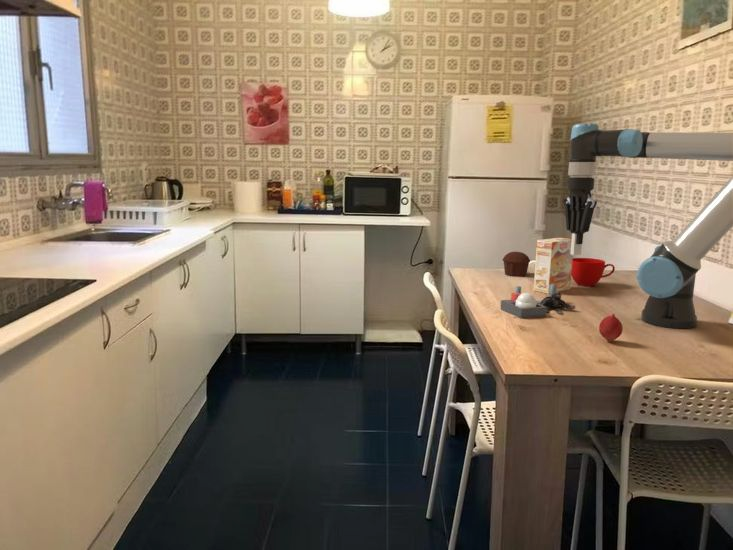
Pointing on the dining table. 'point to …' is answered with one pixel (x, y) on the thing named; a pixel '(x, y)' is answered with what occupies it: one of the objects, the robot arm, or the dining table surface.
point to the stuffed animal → (555, 303)
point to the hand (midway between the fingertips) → (575, 254)
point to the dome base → (522, 312)
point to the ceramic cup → (588, 271)
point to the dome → (526, 300)
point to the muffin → (516, 264)
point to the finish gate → (552, 290)
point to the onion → (610, 328)
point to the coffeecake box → (553, 265)
